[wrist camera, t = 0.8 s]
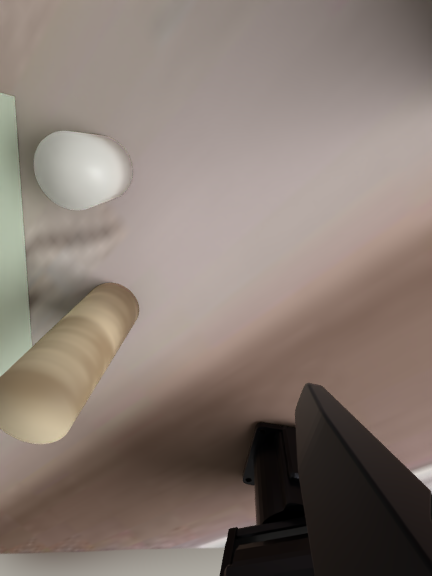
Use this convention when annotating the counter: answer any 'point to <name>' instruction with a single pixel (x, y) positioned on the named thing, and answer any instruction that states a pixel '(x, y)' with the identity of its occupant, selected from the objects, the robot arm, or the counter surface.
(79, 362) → the tan wooden cylinder
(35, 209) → the counter surface
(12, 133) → the hole block
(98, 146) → the white rounded piece
